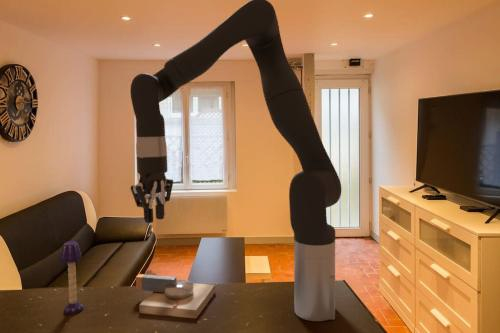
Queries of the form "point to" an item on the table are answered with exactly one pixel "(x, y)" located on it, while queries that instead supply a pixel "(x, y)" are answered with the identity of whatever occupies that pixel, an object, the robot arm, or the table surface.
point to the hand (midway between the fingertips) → (154, 220)
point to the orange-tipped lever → (165, 285)
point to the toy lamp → (71, 275)
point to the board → (178, 302)
